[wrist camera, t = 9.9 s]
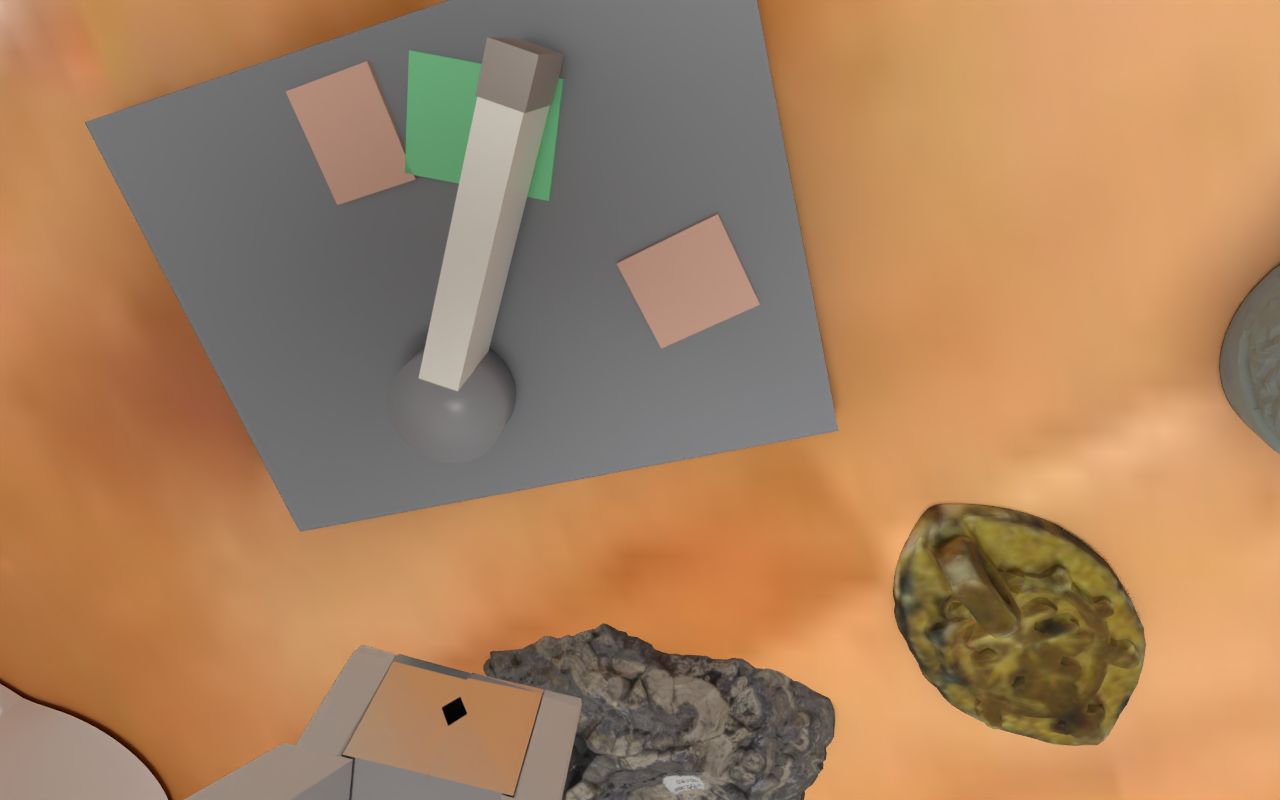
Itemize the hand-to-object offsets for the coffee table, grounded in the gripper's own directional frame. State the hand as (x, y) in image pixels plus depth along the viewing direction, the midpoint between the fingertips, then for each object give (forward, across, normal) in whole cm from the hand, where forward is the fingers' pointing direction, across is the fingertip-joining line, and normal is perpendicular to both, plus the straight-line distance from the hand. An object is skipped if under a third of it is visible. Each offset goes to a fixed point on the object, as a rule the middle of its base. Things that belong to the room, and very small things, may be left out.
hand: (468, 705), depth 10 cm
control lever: (+20, +5, 0) cm, 20 cm away
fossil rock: (+22, -6, +23) cm, 33 cm away
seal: (+22, -20, +11) cm, 32 cm away
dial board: (+21, +6, +1) cm, 22 cm away
